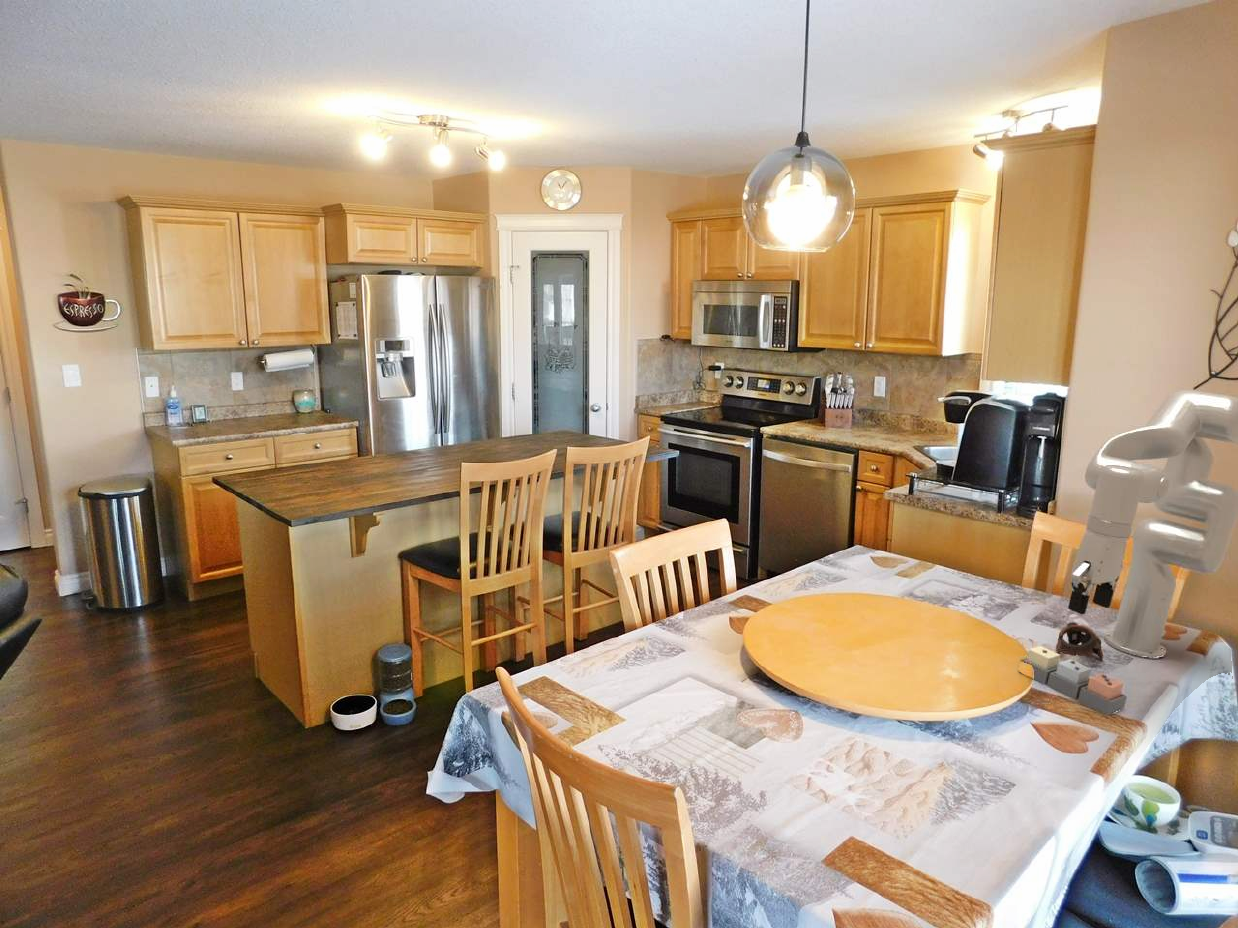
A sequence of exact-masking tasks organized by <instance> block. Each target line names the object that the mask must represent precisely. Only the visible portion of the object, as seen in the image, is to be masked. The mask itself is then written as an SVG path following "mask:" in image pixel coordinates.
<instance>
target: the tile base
mask: <svg viewBox="0 0 1238 928" xmlns="http://www.w3.org/2000/svg"><path fill="white" fill-rule="evenodd" d="M1087 687H1088V685H1087V686H1085V687H1082V688H1081V690H1080V694H1079V698H1078V699H1077V702H1079V703H1080V704H1083V705H1084V706H1087V707H1089V708H1091V709H1092V710H1094V711H1096V712H1099V713H1100V714H1103V715H1105V714H1106V715H1105V716H1107V715H1109V716H1111V715H1110V714H1112V713H1114V712H1116V711H1119V710H1121V709H1123V708H1124V709H1125V705H1126V701H1127V697H1128V696H1127V695H1126V694H1124V693H1121V696H1120V697H1118V698H1115V699H1113V700H1108V699H1106V698H1104V697H1101V696H1099V695H1097V694H1095V693H1093V692H1091V691H1089V690H1087ZM1124 709H1123V710H1124ZM1121 711H1122V710H1121ZM1119 712H1120V711H1119ZM1116 713H1117V712H1116ZM1114 714H1115V713H1114ZM1112 715H1113V714H1112Z"/></svg>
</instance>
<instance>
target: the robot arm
mask: <svg viewBox="0 0 1238 928" xmlns="http://www.w3.org/2000/svg"><path fill="white" fill-rule="evenodd" d="M1164 399H1165V400H1164V401H1163V402H1162V403H1161V405H1160V406H1159V408H1158V409H1157V410H1156V411H1155V412H1154V414H1153V415H1152V417H1151V418H1150V419H1149V421H1148V422H1147V424H1145V426H1142V427H1138V428H1135V429H1132V430H1129V431H1126V432H1123V433H1120V434H1117V435H1115V436H1113V437H1111V438H1109V439H1108V440H1106V441H1105V442H1104V443H1103V444H1102V445H1101V446H1100V448H1098V450H1097V451H1096V452H1095V454H1094V455H1093V457H1091V460H1090V461H1089V463H1088V465H1087V466H1086V469H1085V473H1084V479H1085V483H1086V485H1087V486H1088V488H1090V489H1092V490H1094V495H1093V499H1092V503H1091V507H1090V510H1089V511H1090V512H1089V515H1088V519H1087V522H1086V523H1087V524H1086V527H1085V528H1086V529H1085V530H1086V531H1085V533H1084V535H1083V537H1082V539H1081V542H1080V544H1079V547H1078V550H1077V553H1076V556H1075V560H1074V563H1073V567H1072V570H1071V582H1070V583H1071V595H1070V598H1069V602H1068V606H1067V607H1068V610H1071V611H1072V612H1075V613H1077V614H1080V615H1085V614H1086V612H1087V608H1088V605H1089V599H1090V596H1091V595H1089V593H1090V592H1091V590H1092V588H1093V586H1095V585H1096V586H1095V590H1094V595H1093V599H1092V603H1094V604H1095V605H1098V606H1099V607H1104V608H1106V609H1108V608H1110V606H1111V603H1112V599H1113V595H1114V591H1115V589H1116V587H1117V581H1118V580H1119V578H1120V574H1121V573H1122V570H1123V568H1124V567H1123V563H1124V558H1125V553H1126V546H1127V541H1128V540H1130V537H1131V533H1132V529H1133V525H1134V522H1135V518H1136V514H1137V509H1138V506H1139V503H1142V504H1143V503H1144V504H1150V503H1151V504H1152V503H1154V506H1155V508H1156V510H1158V511H1159V512H1161V513H1164V514H1166V515H1170V516H1173V517H1177V518H1182V519H1186V520H1189V521H1192V522H1193V521H1194V522H1197V523H1201V524H1204V525H1205V527H1206V529H1202V528H1199V527H1194V526H1189V525H1187V524H1184V523H1180V522H1176V521H1172V520H1167V519H1163V518H1157V517H1149V518H1145V519H1143V520H1141V521H1139V522H1138V524H1136V526H1135V528H1134V531H1133V536H1132V551H1131V552H1132V554H1131V561H1130V564H1129V565H1130V566H1129V570H1128V575H1127V578H1126V581H1125V586H1124V591H1123V594H1122V597H1121V602H1120V604H1119V610H1118V613H1117V617H1116V622H1115V626H1114V629H1113V630H1109V631H1107V632H1105V634H1104V641H1105V642H1106V644H1108V645H1110V646H1111V647H1113V648H1115V649H1116V650H1119V651H1121V652H1123V653H1126V654H1128V653H1129V654H1128V655H1132V654H1133V655H1132V656H1135V655H1138V656H1137V657H1139V656H1147V657H1157V656H1162V655H1164V654H1165V653H1166V654H1167V650H1166V647H1164V645H1162V644H1161V642H1162V637H1163V636H1165V635H1166V634H1167V631H1166V629H1165V626H1166V622H1167V619H1168V616H1169V613H1170V608H1171V605H1172V601H1173V598H1174V594H1175V590H1176V586H1177V580H1176V577H1175V573H1174V572H1173V569H1172V567H1171V566H1175V567H1179V568H1182V569H1186V570H1188V571H1192V572H1196V573H1200V574H1204V575H1205V574H1206V575H1210V574H1213V573H1215V572H1216V571H1218V570H1219V569H1220V568H1221V566H1222V563H1223V562H1224V558H1225V556H1226V554H1227V551H1228V547H1229V545H1230V542H1231V539H1232V536H1233V533H1234V530H1235V527H1236V524H1237V522H1238V489H1237V488H1236V487H1233V486H1231V485H1228V484H1224V483H1219V482H1216V481H1210V480H1209V476H1210V472H1211V469H1212V466H1213V464H1214V456H1213V452H1212V451H1211V448H1210V447H1209V445H1208V443H1207V441H1206V440H1205V439H1209V440H1214V441H1215V440H1216V441H1219V442H1220V441H1221V442H1225V443H1231V444H1236V445H1237V444H1238V397H1236V396H1231V395H1226V394H1219V393H1212V392H1207V391H1206V392H1205V391H1202V390H1201V391H1200V390H1192V389H1181V390H1177V391H1174V392H1172V393H1170V394H1168V396H1167V397H1166V398H1164ZM1160 459H1166V463H1165V466H1164V468H1163V469H1162V468H1160V467H1158V466H1154V465H1151V464H1146V463H1143V462H1137V461H1143V460H1146V461H1147V460H1160ZM1084 584H1086V585H1084ZM1162 649H1163V650H1162Z"/></svg>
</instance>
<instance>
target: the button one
mask: <svg viewBox="0 0 1238 928" xmlns="http://www.w3.org/2000/svg"><path fill="white" fill-rule="evenodd" d="M1026 657H1027V661H1028V662H1031V663H1032V664H1035V665H1037V666H1039V667H1041V668H1043V669H1045V670H1049V669H1052V668H1055V667H1058V663H1060V659H1061V654H1058V653H1057V652H1055V651H1053V650H1051V649H1048V648H1046V647H1044V646H1042V645H1039V646H1036V647H1032V648H1029V649H1028V653H1027V656H1026Z"/></svg>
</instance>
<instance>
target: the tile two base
mask: <svg viewBox="0 0 1238 928" xmlns="http://www.w3.org/2000/svg"><path fill="white" fill-rule="evenodd" d="M1056 672H1057V671H1055V672H1052V673H1050V675H1049V680H1048V684H1046V686H1047V687H1048V688H1050V689H1052V690H1054V691H1056V692H1057V693H1058V692H1059V693H1060V694H1062V695H1064V696H1066V697H1068V698H1070V699H1072V700H1074V701H1076V700H1078V698H1079V694H1080V690H1081V688H1082V687H1085V686H1087V685H1088V683H1089V679H1090V678H1089V679H1088V681H1087V682H1084V683H1082V684H1079V685H1076V684H1074V683H1072V682H1070V681H1068V680H1066V679H1064V678H1062V677H1060V676H1058V675H1056Z"/></svg>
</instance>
